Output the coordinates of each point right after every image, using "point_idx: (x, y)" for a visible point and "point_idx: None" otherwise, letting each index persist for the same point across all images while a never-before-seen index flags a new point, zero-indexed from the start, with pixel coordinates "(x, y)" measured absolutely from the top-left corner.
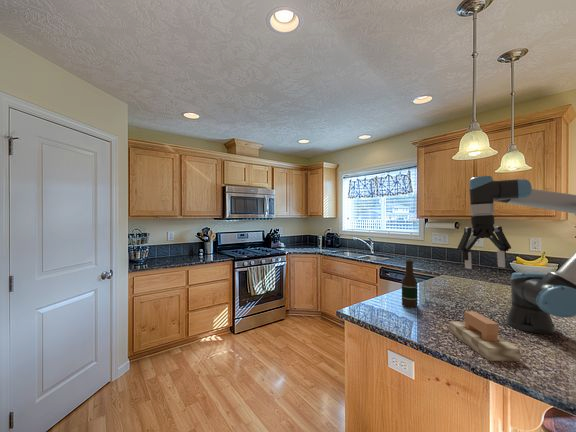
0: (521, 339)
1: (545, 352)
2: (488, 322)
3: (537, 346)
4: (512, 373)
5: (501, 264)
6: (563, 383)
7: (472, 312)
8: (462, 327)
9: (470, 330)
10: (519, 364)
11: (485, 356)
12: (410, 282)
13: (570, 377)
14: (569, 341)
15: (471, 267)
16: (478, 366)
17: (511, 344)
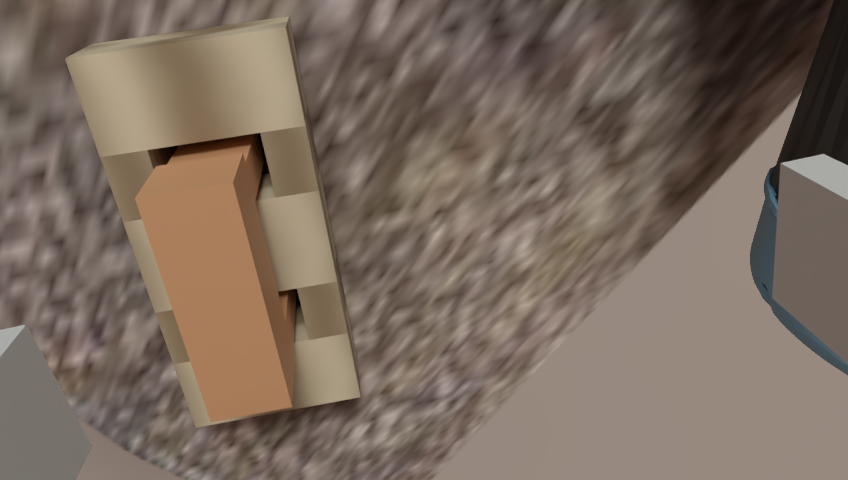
0: (546, 93)
1: (551, 242)
2: (234, 398)
3: (567, 177)
4: (261, 458)
5: (811, 290)
6: (414, 473)
7: (199, 213)
8: (143, 171)
9: None
10: None
11: None
12: None
13: (475, 431)
14: None
15: (76, 471)
16: (137, 442)
17: (346, 359)
